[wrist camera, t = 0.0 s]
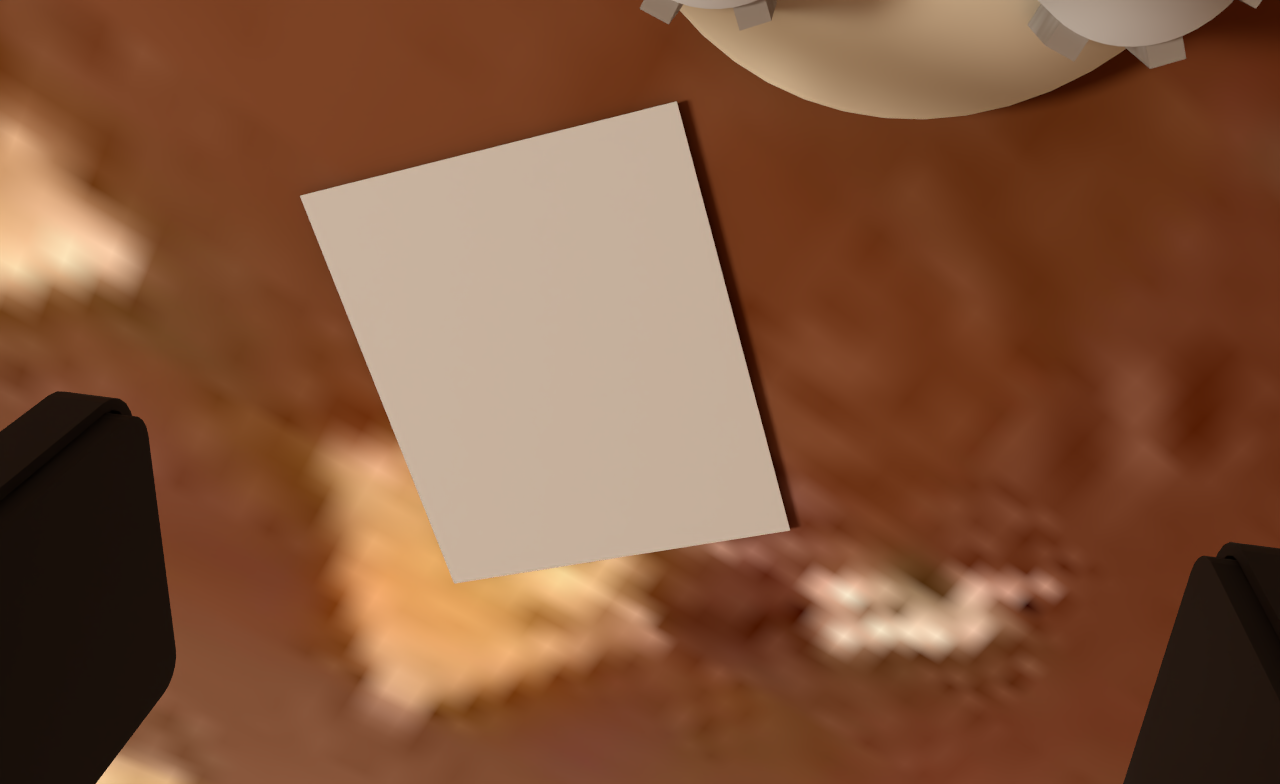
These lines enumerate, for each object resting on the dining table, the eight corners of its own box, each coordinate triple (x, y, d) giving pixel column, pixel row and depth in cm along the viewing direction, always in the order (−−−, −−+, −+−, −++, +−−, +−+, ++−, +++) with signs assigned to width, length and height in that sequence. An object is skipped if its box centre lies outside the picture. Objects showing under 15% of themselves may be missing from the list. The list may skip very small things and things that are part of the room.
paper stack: (969, 22, 38) (971, 26, 38) (1075, 660, 48) (1078, 671, 47) (307, 190, 44) (299, 196, 43) (520, 730, 53) (517, 741, 53)
